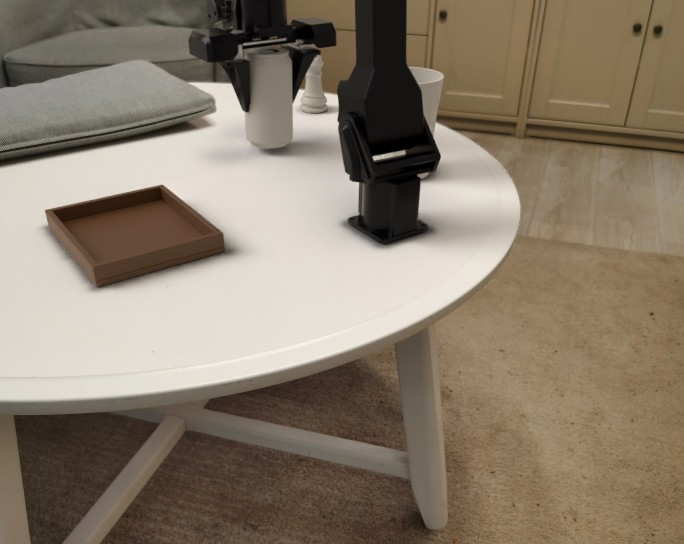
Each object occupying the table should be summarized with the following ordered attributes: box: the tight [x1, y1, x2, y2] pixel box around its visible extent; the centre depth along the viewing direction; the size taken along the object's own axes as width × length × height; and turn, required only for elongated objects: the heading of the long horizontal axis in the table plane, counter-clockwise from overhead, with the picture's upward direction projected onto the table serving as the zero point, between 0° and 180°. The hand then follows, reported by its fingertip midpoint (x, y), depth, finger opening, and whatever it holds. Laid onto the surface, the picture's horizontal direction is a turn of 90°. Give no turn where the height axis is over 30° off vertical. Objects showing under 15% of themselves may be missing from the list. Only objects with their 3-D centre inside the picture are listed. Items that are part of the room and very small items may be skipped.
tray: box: [44, 184, 226, 288], centre depth 73 cm, size 15×13×2 cm
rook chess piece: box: [299, 55, 329, 114], centre depth 111 cm, size 4×4×8 cm
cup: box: [379, 66, 445, 180], centre depth 88 cm, size 8×8×12 cm
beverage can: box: [243, 46, 294, 150], centre depth 94 cm, size 6×6×12 cm
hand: (268, 107), depth 95 cm, fingers closed on beverage can, 6 cm apart
